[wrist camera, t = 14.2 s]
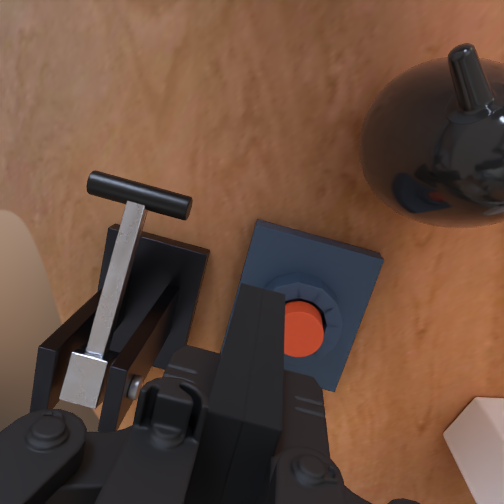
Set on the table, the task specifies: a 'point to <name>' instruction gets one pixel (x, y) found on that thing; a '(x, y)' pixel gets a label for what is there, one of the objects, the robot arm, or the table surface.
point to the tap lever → (115, 281)
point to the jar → (480, 448)
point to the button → (302, 329)
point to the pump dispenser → (439, 142)
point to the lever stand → (130, 324)
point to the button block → (315, 289)
